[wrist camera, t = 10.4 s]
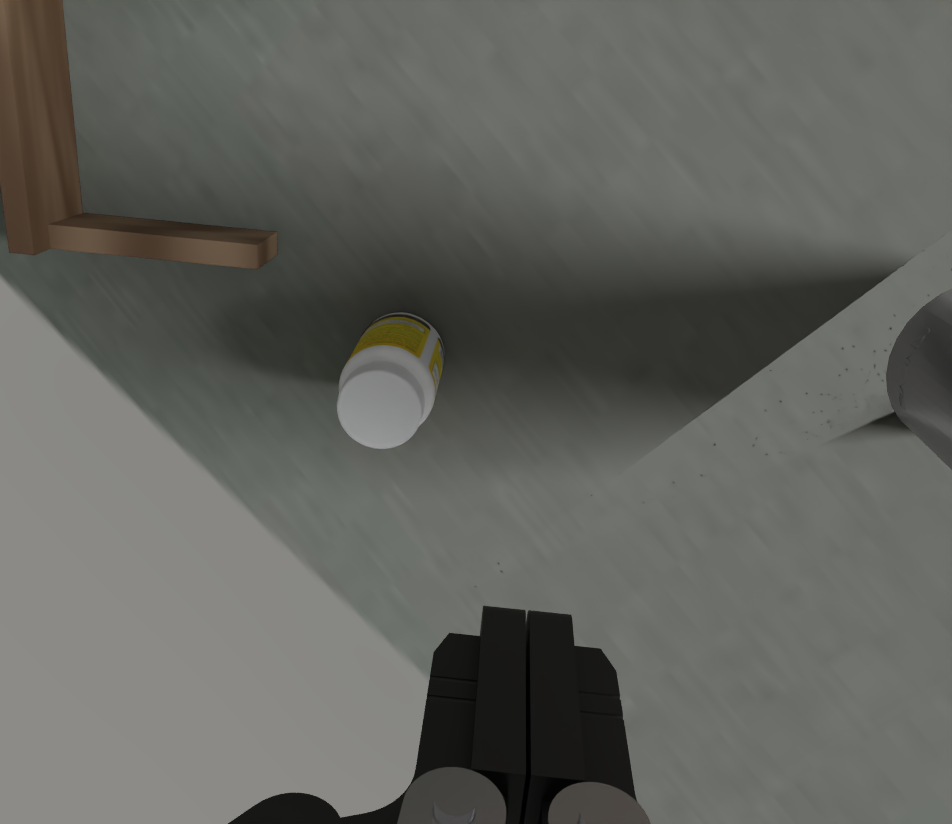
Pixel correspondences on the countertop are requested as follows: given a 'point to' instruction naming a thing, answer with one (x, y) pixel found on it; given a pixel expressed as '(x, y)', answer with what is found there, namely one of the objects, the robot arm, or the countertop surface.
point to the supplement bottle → (390, 380)
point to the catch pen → (56, 165)
